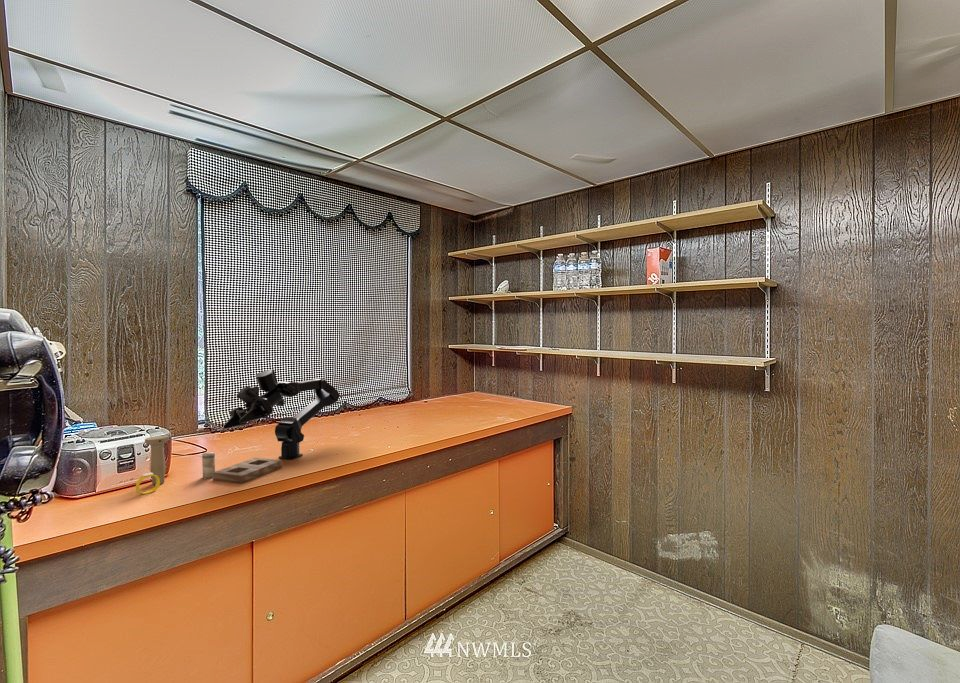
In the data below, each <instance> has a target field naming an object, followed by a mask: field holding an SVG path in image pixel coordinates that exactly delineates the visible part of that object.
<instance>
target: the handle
mask: <svg viewBox="0 0 960 683" xmlns="http://www.w3.org/2000/svg"><path fill="white" fill-rule="evenodd" d="M168 441H170V435H166V434H165V435H156V436H150V437H146V438H145V439H144V443H145V444H147V445H149V446H150V462H149V463H150V465H149V467H150V468H149V469H150V470H149V473H153V475H157V476H158V478H159V479H160V484H159V485H161V484H164V483H165V480H166V479H165V477H166V460H165V444H166V443H167V442H168ZM150 479H151V484H152V485H154V486H155V485H156V483H157V482H156V478H155V477H154V476H151V477H150Z"/></svg>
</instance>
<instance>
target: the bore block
mask: <svg viewBox="0 0 960 683" xmlns="http://www.w3.org/2000/svg"><path fill="white" fill-rule="evenodd" d="M282 461H283V460H280V459H270V458H260V457H252V458H250V459H247V460H244V461H241V462H239V463H236V464H234V465H230V466H227V467H225V468H221V469H219V470H215V472H213V478H212V481H218V480H221V482H226V481H228V483H234V482H237V483H236V484H244V483H246V482H248V481H252V480H254V479H257V478H259V477H262V476H264V475H266V474H269V473H271V472H273V471H276V470H279V469H280V468H282ZM278 468H279V469H278ZM256 477H257V478H256ZM251 479H252V480H251Z"/></svg>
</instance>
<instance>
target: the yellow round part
mask: <svg viewBox="0 0 960 683" xmlns="http://www.w3.org/2000/svg"><path fill="white" fill-rule="evenodd" d="M151 476H154V477H155V478H156V482H157V483H156V485H154V487H153V488H152V489H151V490H148V491H144V492H143V491H141V489H140V484H141V483H142V481H143V480H144V479H146V478H151ZM160 485H161V484H160V479H159V478H158V476H157V475H153V473H151V472H146V473H142V474H141V476H140V478H139V479H138V480H137V481H136V483H135V490H136V491H137V493H139V494H142V495H148V494H151V493H154V492H156V491H157V490H158V488H159V487H160Z"/></svg>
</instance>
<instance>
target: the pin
mask: <svg viewBox="0 0 960 683" xmlns="http://www.w3.org/2000/svg"><path fill="white" fill-rule="evenodd" d="M215 456H216V452H214V451H207V452H203V453H202V454H201V460H202V461H201V462H202V465H201V466H202V478H203V479H204V478H208V479H212V478H211V477H213V472H216V461H215V460H216V459H215V458H216V457H215Z"/></svg>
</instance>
